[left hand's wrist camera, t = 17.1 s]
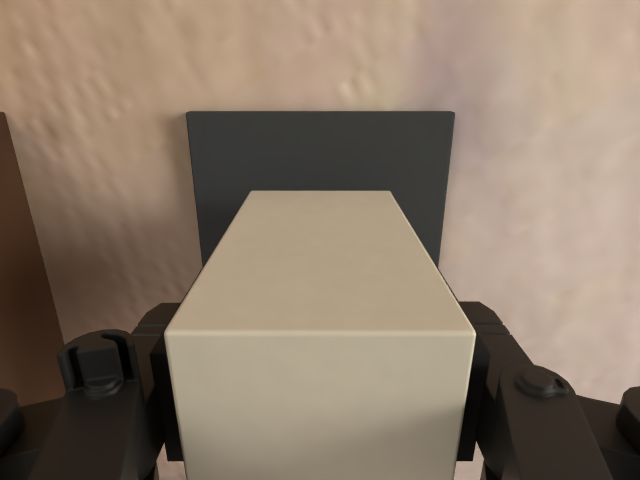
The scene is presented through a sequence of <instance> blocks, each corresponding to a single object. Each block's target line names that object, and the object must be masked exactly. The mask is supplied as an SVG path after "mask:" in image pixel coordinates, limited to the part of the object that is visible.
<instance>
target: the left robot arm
mask: <svg viewBox="0 0 640 480" xmlns="http://www.w3.org/2000/svg"><path fill="white" fill-rule="evenodd" d="M223 236H224V235H223ZM223 236H222V237H223ZM222 237H221V239H222ZM417 237H418V235H417ZM418 238H419V237H418ZM221 239H220V240H221ZM419 240H420V238H419ZM420 241H421V240H420ZM219 242H220V241H219ZM219 242H218V244H219ZM421 243H422V242H421ZM218 244H217V245H218ZM217 245H216V247H217ZM422 245H423V243H422ZM423 246H424V245H423ZM216 247H215V249H216ZM424 248H425V247H424ZM215 249H214V250H215ZM214 250H213V252H214ZM425 250H426V248H425ZM426 251H427V250H426ZM213 252H212V253H213ZM427 253H428V251H427ZM211 255H212V254H211ZM211 255H210V257H211ZM428 255H429V253H428ZM429 256H430V255H429ZM210 257H209V258H210ZM209 258H208V260H209ZM430 258H431V256H430ZM208 260H207V262H208ZM431 260H432V261H433V259H432V258H431ZM207 262H206V263H207ZM206 263H205V265H206ZM433 263H434V261H433ZM434 264H435V263H434ZM205 265H204V266H205ZM204 266H203V268H204ZM435 266H436V264H435ZM203 268H202V270H203ZM436 268H437V266H436ZM437 269H438V268H437ZM202 270H201V271H202ZM201 271H200V273H201ZM438 271H439V269H438ZM200 273H199V275H200ZM439 273H440V274H441V272H440V271H439ZM199 275H198V276H199ZM198 276H197V278H198ZM441 276H442V274H441ZM197 278H196V279H197ZM442 278H443V279H444V277H443V276H442ZM196 279H195V281H196ZM195 281H194V283H195ZM444 281H445V282H446V280H445V279H444ZM194 283H193V284H194ZM193 284H192V286H193ZM446 284H447V282H446ZM192 286H191V287H190V289H191V288H192ZM447 286H448V287H449V285H448V284H447ZM190 289H189V291H190ZM449 289H450V287H449ZM189 291H188V292H189ZM450 291H451V292H452V290H451V289H450ZM188 292H187V294H188ZM187 294H186V296H187ZM452 294H453V296H454V297H455V295H454V293H453V292H452ZM186 296H185V297H186ZM185 297H184V299H185ZM184 299H183V300H182V302H183V301H184ZM455 299H456V300H457V298H456V297H455ZM182 302H181V303H161V304H159V305H158V306H156V307H155V308H153V309H152V310H150V311H149V312H147V313H146V314H145V316H144V317H143V318H142V320H141V321H140V322H139V324H138V327H136V328H135V329H134V330H133V332H132V333H131V335H130V334H129V333H128V332H126V331H121V330H117V329H115V330H100V331H96V332H91V333H88V334H85V335H83V336H80V337H78V338H75V339H74V340H72V341H71V342H69V343H67V344H66V345H64V346H63V347H62V348H61V349H60V351H59V352H58V353H57V354H56V356H57V360H58V363H59V367H60V371H61V375H62V378H63V382H64V386H65V390H66V392H65V394H64V397H61V398H57V399H53V400H49V401H44V402H39V403H35V404H30V405H25V406H21V405H20V402H19V399H18V396H17V394H16V393H14V392H13V391H12V390H10V389H3V388H0V480H159V474H158V467H157V462H156V460H157V458H158V456H159V453H160V451H161V448H162V446H163V444H164V443H165V448H166V454H167V460H168V461H184V460H183V454H182V447H181V441H180V434H179V428H178V421H177V415H176V409H175V402H174V396H173V389H172V383H171V376H170V370H169V363H168V357H167V350H166V344H165V337H164V332H165V330H166V328H167V327H168V325H169V323H170V322H171V320H172V318H173V317H174V315H175V314H176V312H177V310H178V309H179V307H180V305H181V304H182ZM457 302H458V304H459V305H460V307H461V309H462V310H463V312H464V314H465V315H466V317H467V319H468V320H469V322H470V323H471V325H472V327H473V328H474V330H475V332H476V339H475V345H474V351H473V358H472V364H471V371H470V377H469V383H468V390H467V396H466V403H465V409H464V415H463V422H462V428H461V434H460V441H459V447H458V454H457V460H456V461H473V456H474V450H475V444H476V441H477V443H478V446H479V448H480V450H481V453H482V455H483V457H484V462H483V467H482V473H481V478H480V480H640V386H639V387H632V388H629V389H628V390H627V391H626V392H624V394H623V397H622V400H621V403H620V405H619V404H614V403H610V402H605V401H600V400H595V399H591V398H586V397H583V396H579V395H576V394H575V391H574V390H573V388H572V387H571V386H570V384H569V383H568V382H567V381H566V380H565V379H563V378H562V377H561V376H559V375H558V374H557V373H555V372H553V371H550V370H548V369H546V368H544V367H541V366H537V365H534V364H533V363H532V362H531V360H530V359H529V358H528V356H527V355H526V354H525V352H524V351H523V350H522V348H521V347H520V346H519V344H518V343H517V342H516V340H515V339H514V338H513V336H512V335H510V332H509V331H508V330H507V328H506V327H505V326H504V325H503V323H502V321H501V320H500V319H499V317H498V316H497V315H496V313H495V312H494V311H493V310H491V309H490V308H488V307H487V306H485V305H483V304H482V303H480V302H459V301H458V300H457Z"/></svg>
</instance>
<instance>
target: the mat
mask: <svg viewBox="0 0 640 480" xmlns="http://www.w3.org/2000/svg"><path fill="white" fill-rule="evenodd" d="M454 118H455V113H454V112H451V111H190V112H187V113H186V119H187V128H188V137H189V146H190V155H191V164H192V173H193V183H194V192H195V201H196V210H197V219H198V228H199V237H200V246H201V255H202V265H203V266H204V265H205V263H206V262H207V260H208V258H209V257H210V255H211V254H212V252H213V250H214V249H215V247H216V245H217V244H218V242H219V241H220V239H221V237H222V236H223V235H224V234H225V232H226V231H227V229H228V227H229V226H230V224H231V223H232V221H233V219H234V218H235V216H236V214H237V213H238V211H239V210H240V208H241V206H242V205H243V203H244V201H245V200H246V198H247V197H248V195H249V193H250V192H251V191H390V192H391V194H392V196H393V197H394V199H395V201H396V202H397V204H398V205H399V207H400V209H401V210H402V212H403V214H404V215H405V217H406V219H407V220H408V222H409V223H410V225H411V227H412V228H413V230H414V232H415V233H416V235H418V237H419V238H420V240H421V242H422V243H423V245H424V247H425V248H426V250H427V251H428V253H429V255H430V256H431V258H432V259H433V261H434V263H435V264H436V266H437V268H438V263H439V254H440V245H441V236H442V227H443V218H444V209H445V200H446V191H447V182H448V173H449V164H450V155H451V145H452V136H453V127H454Z"/></svg>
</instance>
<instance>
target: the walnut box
mask: <svg viewBox="0 0 640 480" xmlns="http://www.w3.org/2000/svg"><path fill="white" fill-rule="evenodd" d="M63 346H64V343H63V339H62V335H61V331H60V327H59V323H58V319H57V315H56V311H55V308H54V304H53V300H52V296H51V292H50V288H49V284H48V280H47V276H46V272H45V269H44V265H43V261H42V257H41V253H40V249H39V245H38V241H37V237H36V233H35V229H34V226H33V222H32V218H31V214H30V210H29V206H28V202H27V198H26V194H25V190H24V187H23V183H22V179H21V175H20V171H19V167H18V163H17V159H16V155H15V151H14V147H13V144H12V140H11V136H10V132H9V128H8V124H7V120H6V116H5V113H4V112H0V388H3V389H10V390H12V391H13V392H14V393H16V394H17V396H18V399H19V402H20V405H21V406H25V405H30V404H35V403H39V402H44V401H49V400H53V399H57V398H61V397H64V394H65V392H66V390H65V386H64V382H63V378H62V375H61V371H60V367H59V363H58V360H57V356H56V354H57V353H58V352H59V351H60V349H61V348H62V347H63Z"/></svg>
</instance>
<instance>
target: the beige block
mask: <svg viewBox="0 0 640 480" xmlns="http://www.w3.org/2000/svg"><path fill="white" fill-rule="evenodd" d="M164 337H165V344H166V350H167V357H168V363H169V370H170V376H171V383H172V389H173V396H174V402H175V409H176V415H177V421H178V428H179V434H180V441H181V447H182V454H183V460H184V467H185V473H186V480H453V479H454V473H455V466H456V460H457V454H458V447H459V441H460V434H461V428H462V422H463V415H464V409H465V403H466V396H467V390H468V383H469V377H470V371H471V364H472V358H473V351H474V345H475V339H476V332H475V330H474V328H473V327H472V325H471V323H470V322H469V320H468V319H467V317H466V315H465V314H464V312H463V310H462V309H461V307H460V305H459V304H458V302H457V300H456V299H455V297H454V296H453V294H452V292H451V291H450V289H449V287H448V286H447V284H446V282H445V281H444V279H443V278H442V276H441V274H440V273H439V271H438V269H437V268H436V266H435V264H434V263H433V261H432V260H431V258H430V256H429V255H428V253H427V251H426V250H425V248H424V246H423V245H422V243H421V241H420V240H419V238H418V237H417V235H416V233H415V232H414V230H413V228H412V227H411V225H410V223H409V222H408V220H407V219H406V217H405V215H404V214H403V212H402V210H401V209H400V207H399V205H398V204H397V202H396V201H395V199H394V197H393V196H392V194H391V192H390V191H251V192H250V193H249V195H248V197H247V198H246V200H245V201H244V203H243V205H242V206H241V208H240V210H239V211H238V213H237V214H236V216H235V218H234V219H233V221H232V223H231V224H230V226H229V227H228V229H227V231H226V232H225V234H224V236H223V237H222V239H221V240H220V242H219V244H218V245H217V247H216V249H215V250H214V252H213V253H212V255H211V257H210V258H209V260H208V262H207V263H206V265H205V266H204V268H203V270H202V271H201V273H200V275H199V276H198V278H197V279H196V281H195V283H194V284H193V286H192V288H191V289H190V291H189V292H188V294H187V296H186V297H185V299H184V301H183V302H182V304H181V305H180V307H179V309H178V310H177V312H176V314H175V315H174V317H173V318H172V320H171V322H170V323H169V325H168V327H167V328H166V330H165V332H164Z"/></svg>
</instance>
